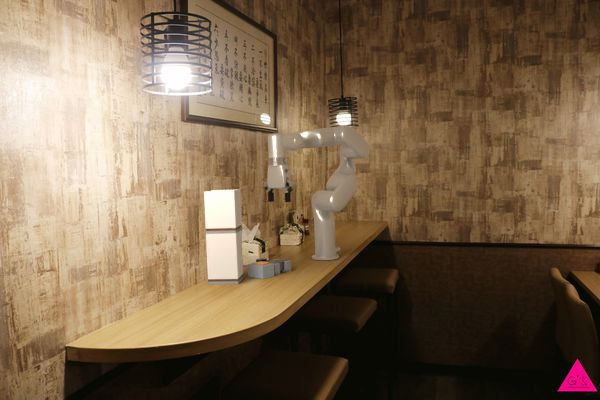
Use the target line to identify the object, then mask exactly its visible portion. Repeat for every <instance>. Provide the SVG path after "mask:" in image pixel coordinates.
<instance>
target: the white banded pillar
mask: <svg viewBox="0 0 600 400" xmlns="http://www.w3.org/2000/svg"><path fill="white" fill-rule="evenodd" d="M203 200H204V201H203V202H204V218H205V219H204V222H205V223H204V224H205V241H206V242H205V243H206V244H205V245H206V261H207V262H206V264H207V265H206V266H207V285H209V286H210V285H214V286H215V285H216V286H217V285H218V286H219V285H220V286H221V285H239V284H241V281H244V279H245V273H244V265H243V263H244V261H243V240H242V239H243V236H242V234H243V222H242V196H241V188H238V189H235V188H234V189H211V190H208V191H207V190H206V191H203Z"/></svg>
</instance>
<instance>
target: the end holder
mask: <svg viewBox="0 0 600 400" xmlns="http://www.w3.org/2000/svg"><path fill="white" fill-rule="evenodd" d="M254 263H256V261H254V262H252V263H247V277H248V278H253V277H255V278H254V279H259V278H260V280H261V279H262V280H264V279H268V278H272V277H275V275H274V263H271V264H267V265H263V266H262V265H254Z"/></svg>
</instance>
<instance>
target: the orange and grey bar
mask: <svg viewBox="0 0 600 400" xmlns="http://www.w3.org/2000/svg"><path fill="white" fill-rule="evenodd" d="M288 260H290V261H291V259H289V258H281V259H280V260H276V261H273V260H272V261H267V262H263V261H260V262H256V261H255V262H256V263H255V262H253V263H254V265H262V266H263V265H267V264H271V263H274V264H276V263H280V271H281V270H284V261H288Z"/></svg>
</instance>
